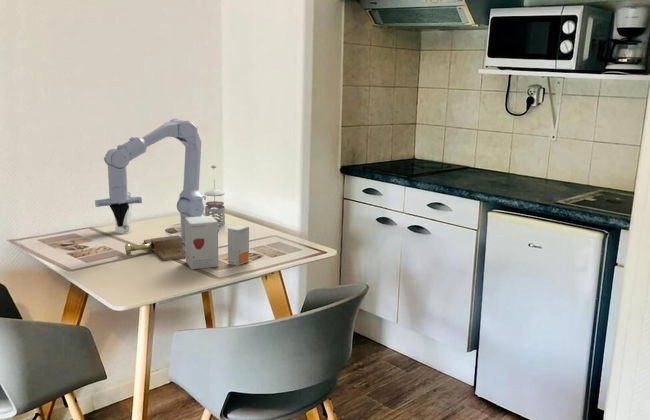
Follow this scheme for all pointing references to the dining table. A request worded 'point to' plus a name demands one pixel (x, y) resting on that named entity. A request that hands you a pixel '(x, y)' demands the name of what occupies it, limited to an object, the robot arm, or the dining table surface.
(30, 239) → the dining table surface
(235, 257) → the skincare box
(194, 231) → the supplement box
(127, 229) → the beer glass
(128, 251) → the pin
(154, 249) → the hinge
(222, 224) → the french press
